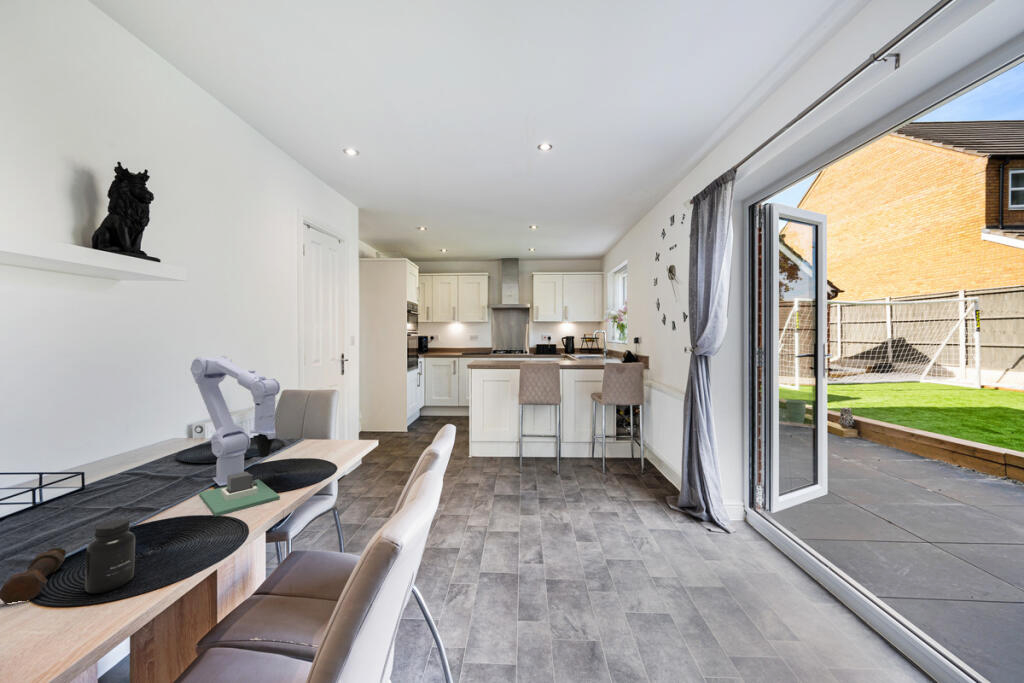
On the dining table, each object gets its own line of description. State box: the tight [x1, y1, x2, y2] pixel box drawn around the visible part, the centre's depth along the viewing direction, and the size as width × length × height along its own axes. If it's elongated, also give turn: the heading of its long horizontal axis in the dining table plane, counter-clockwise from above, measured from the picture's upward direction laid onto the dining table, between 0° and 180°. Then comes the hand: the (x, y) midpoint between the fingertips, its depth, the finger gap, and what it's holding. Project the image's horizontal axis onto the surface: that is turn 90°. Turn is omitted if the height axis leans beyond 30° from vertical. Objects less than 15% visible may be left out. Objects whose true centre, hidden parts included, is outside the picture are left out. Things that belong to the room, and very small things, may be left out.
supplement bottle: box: [84, 518, 136, 594], centre depth 77 cm, size 7×7×12 cm
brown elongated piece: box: [0, 547, 67, 605], centre depth 77 cm, size 6×5×15 cm
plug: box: [226, 471, 253, 494], centre depth 118 cm, size 4×6×6 cm
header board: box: [198, 478, 280, 517], centre depth 118 cm, size 20×16×3 cm
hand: (264, 456), depth 128 cm, fingers closed
